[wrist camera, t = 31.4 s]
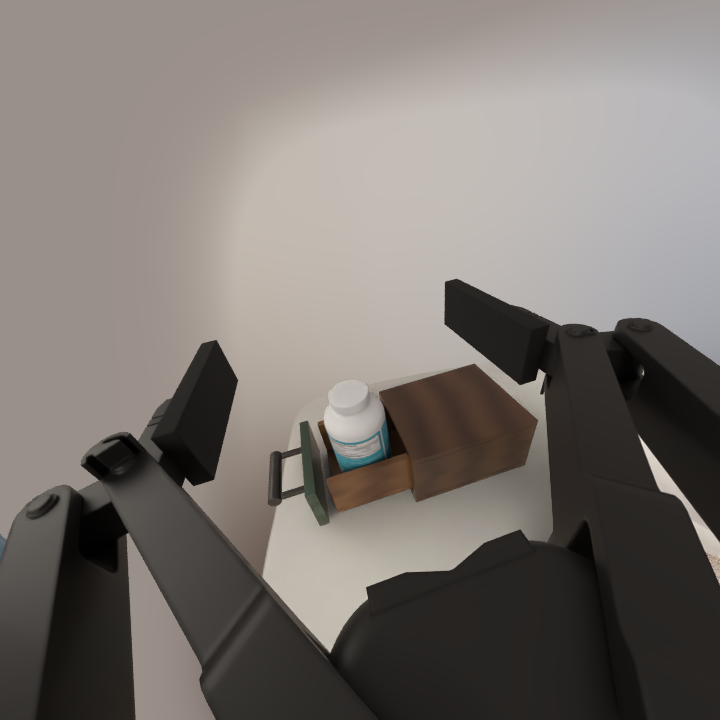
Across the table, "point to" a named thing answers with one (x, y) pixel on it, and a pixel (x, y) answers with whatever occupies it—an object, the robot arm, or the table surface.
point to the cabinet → (458, 429)
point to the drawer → (341, 475)
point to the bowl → (669, 486)
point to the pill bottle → (356, 425)
